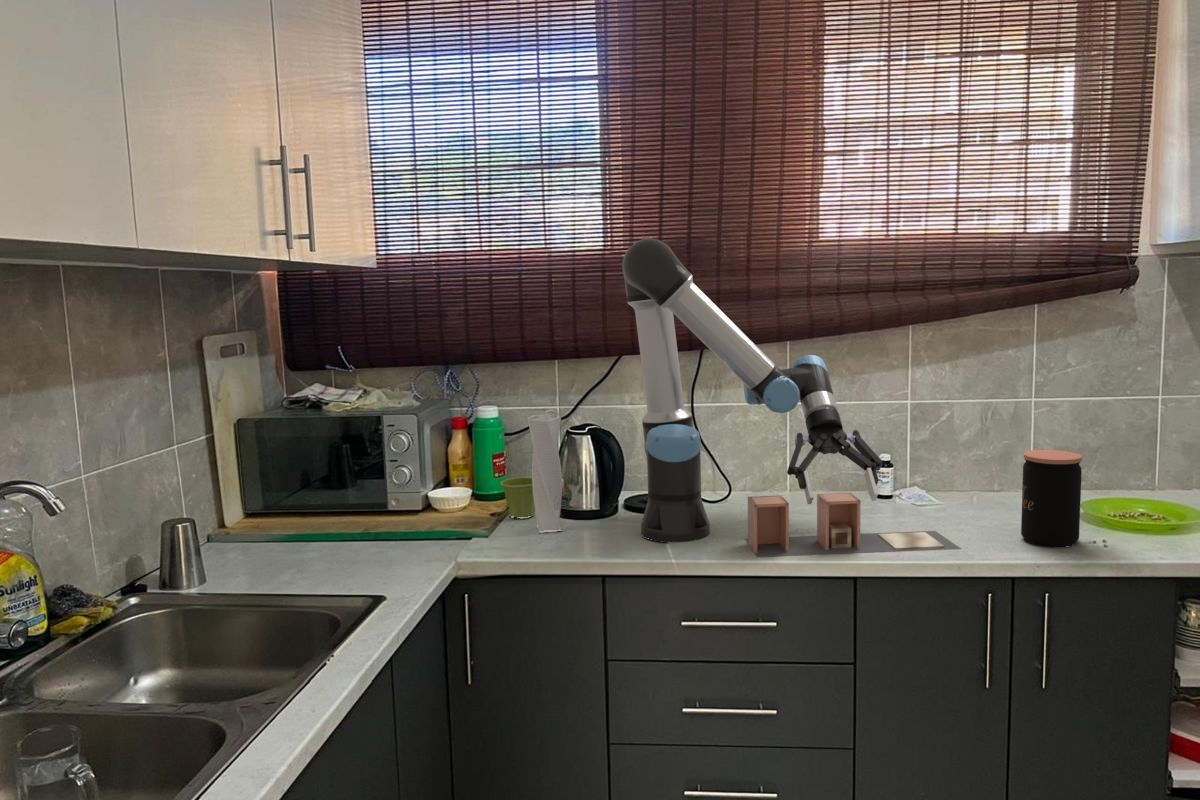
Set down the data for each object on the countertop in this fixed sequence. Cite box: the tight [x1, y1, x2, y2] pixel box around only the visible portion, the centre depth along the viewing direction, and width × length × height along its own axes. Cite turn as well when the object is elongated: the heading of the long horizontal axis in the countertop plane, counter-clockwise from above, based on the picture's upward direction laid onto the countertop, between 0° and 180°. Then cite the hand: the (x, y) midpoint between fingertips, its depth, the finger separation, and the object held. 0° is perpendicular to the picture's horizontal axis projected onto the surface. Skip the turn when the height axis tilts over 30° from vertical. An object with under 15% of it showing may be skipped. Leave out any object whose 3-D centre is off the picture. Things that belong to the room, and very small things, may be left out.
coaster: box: [878, 531, 945, 550], centre depth 183 cm, size 10×10×1 cm
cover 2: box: [816, 492, 861, 550], centre depth 182 cm, size 7×6×10 cm
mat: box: [744, 530, 962, 558], centre depth 183 cm, size 41×13×1 cm, turn 92°
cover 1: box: [747, 495, 790, 554], centre depth 181 cm, size 7×6×10 cm
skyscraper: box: [527, 408, 563, 532], centre depth 200 cm, size 8×8×28 cm
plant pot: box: [500, 477, 536, 517], centre depth 214 cm, size 9×9×9 cm
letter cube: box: [829, 523, 851, 548], centre depth 182 cm, size 4×4×4 cm
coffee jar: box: [1020, 449, 1083, 548], centre depth 180 cm, size 11×11×18 cm
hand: (842, 499), depth 185 cm, fingers open, 13 cm apart
